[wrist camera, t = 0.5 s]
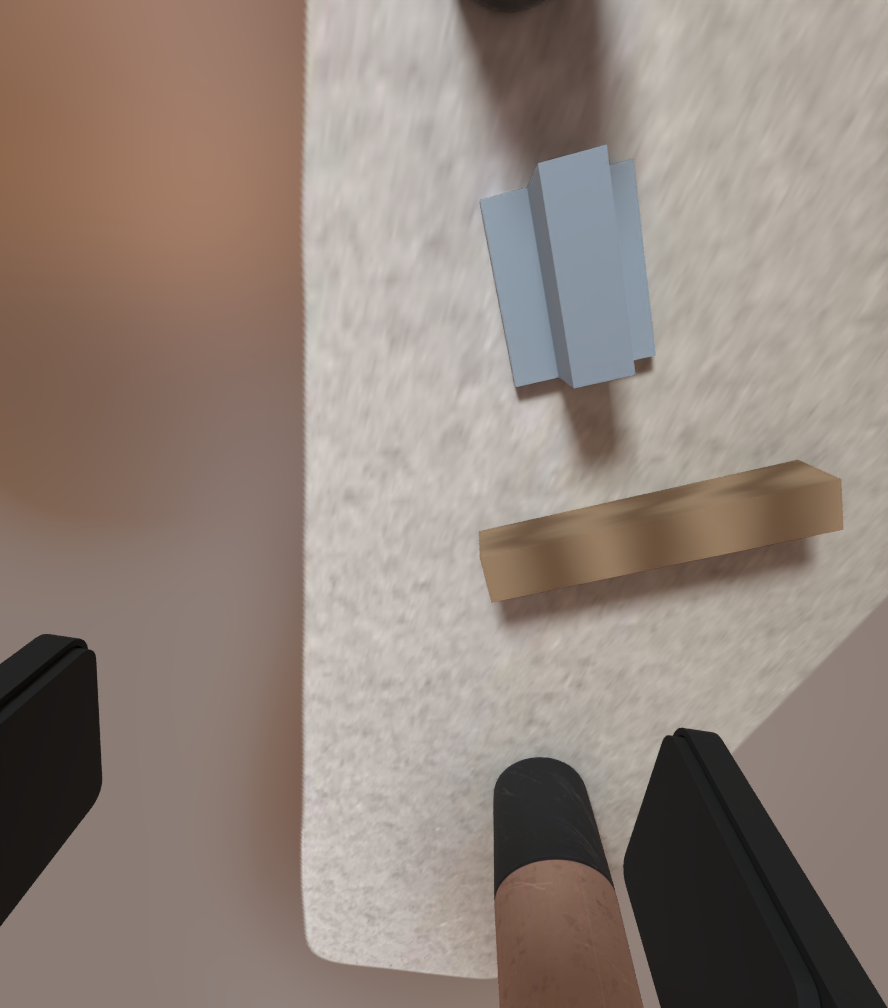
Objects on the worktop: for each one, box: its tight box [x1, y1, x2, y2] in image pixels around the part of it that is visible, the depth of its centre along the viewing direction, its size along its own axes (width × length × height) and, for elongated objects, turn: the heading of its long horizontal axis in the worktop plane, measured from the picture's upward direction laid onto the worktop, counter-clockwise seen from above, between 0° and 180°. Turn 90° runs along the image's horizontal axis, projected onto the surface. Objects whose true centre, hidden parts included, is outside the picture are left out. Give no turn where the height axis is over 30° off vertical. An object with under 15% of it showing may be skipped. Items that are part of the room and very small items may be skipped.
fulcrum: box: [480, 144, 656, 388], centre depth 29 cm, size 8×10×6 cm
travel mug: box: [493, 757, 643, 1008], centre depth 34 cm, size 8×8×20 cm
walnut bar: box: [479, 460, 843, 602], centre depth 34 cm, size 20×3×4 cm, turn 105°
